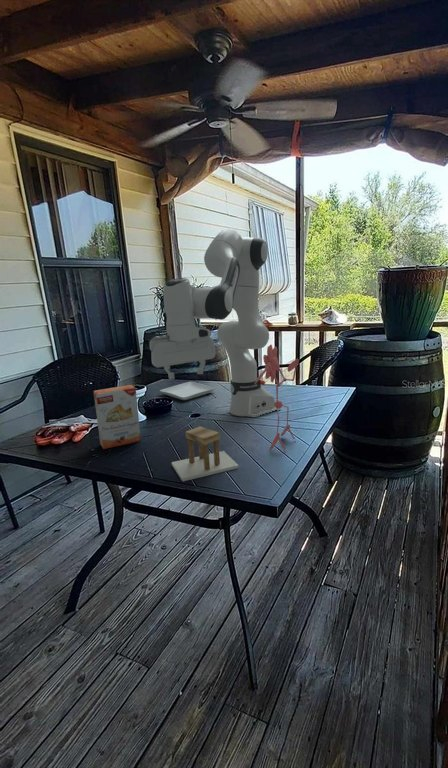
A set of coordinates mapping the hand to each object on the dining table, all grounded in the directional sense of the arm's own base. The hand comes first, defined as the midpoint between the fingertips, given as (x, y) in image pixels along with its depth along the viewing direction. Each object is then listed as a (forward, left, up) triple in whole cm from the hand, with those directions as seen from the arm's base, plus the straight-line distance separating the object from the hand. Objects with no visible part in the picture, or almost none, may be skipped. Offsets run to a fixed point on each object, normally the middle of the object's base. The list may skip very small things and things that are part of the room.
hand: (186, 376), depth 128 cm
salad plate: (-21, -73, -28) cm, 81 cm away
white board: (-1, +9, -27) cm, 29 cm away
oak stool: (-1, +9, -26) cm, 28 cm away
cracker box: (+20, -24, -28) cm, 42 cm away
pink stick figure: (-28, +4, -28) cm, 40 cm away
